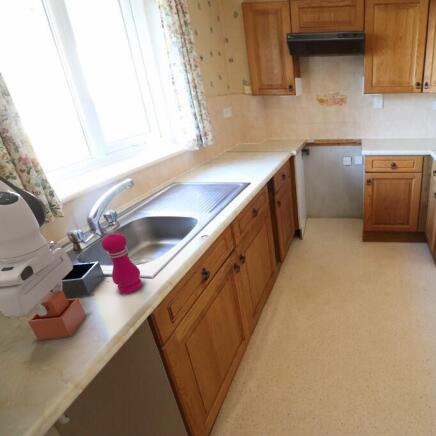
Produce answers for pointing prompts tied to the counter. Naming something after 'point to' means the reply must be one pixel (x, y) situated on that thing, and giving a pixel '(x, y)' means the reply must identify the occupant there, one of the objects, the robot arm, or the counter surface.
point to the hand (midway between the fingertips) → (52, 305)
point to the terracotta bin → (58, 322)
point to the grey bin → (82, 279)
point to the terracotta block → (54, 303)
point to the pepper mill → (121, 263)
